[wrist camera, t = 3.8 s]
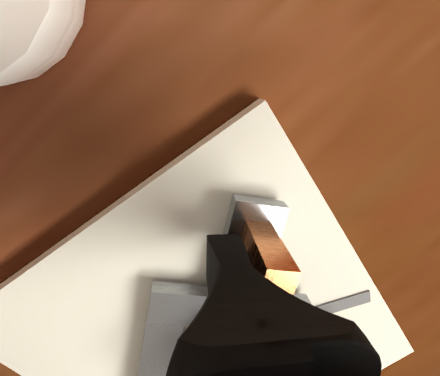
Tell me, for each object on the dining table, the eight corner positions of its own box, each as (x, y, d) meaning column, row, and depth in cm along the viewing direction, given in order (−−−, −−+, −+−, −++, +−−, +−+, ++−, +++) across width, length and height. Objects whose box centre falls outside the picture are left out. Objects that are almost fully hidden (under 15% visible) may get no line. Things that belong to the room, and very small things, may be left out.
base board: (403, 338, 20) (470, 418, 15) (187, 462, 22) (190, 565, 17) (259, 98, 13) (304, 114, 8) (-40, 312, 15) (-138, 421, 10)
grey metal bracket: (266, 396, 18) (289, 484, 15) (133, 395, 17) (120, 492, 13) (338, 209, 14) (399, 262, 10) (168, 183, 12) (164, 235, 9)
